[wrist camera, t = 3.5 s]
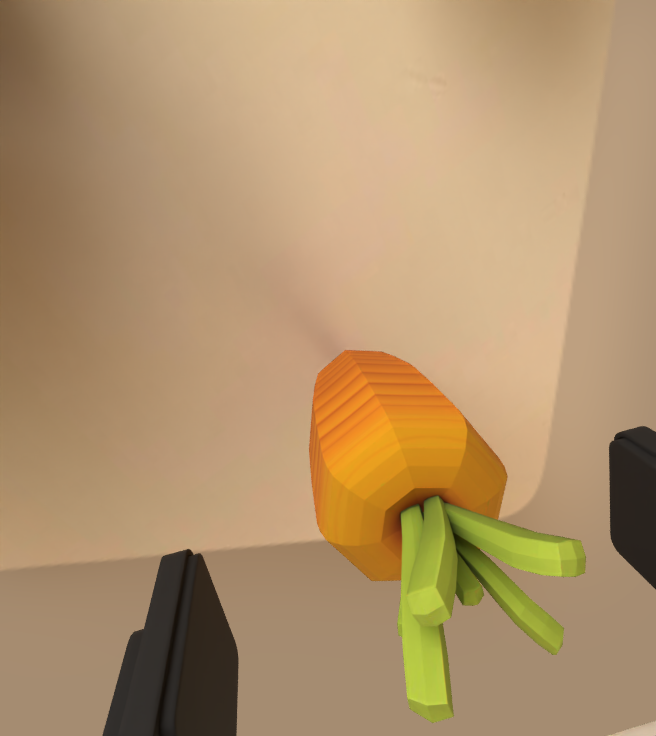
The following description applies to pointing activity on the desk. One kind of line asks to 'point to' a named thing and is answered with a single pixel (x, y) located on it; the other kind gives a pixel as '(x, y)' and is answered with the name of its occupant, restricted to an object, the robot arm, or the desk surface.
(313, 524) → the desk surface
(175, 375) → the desk surface
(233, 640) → the robot arm
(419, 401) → the carrot
